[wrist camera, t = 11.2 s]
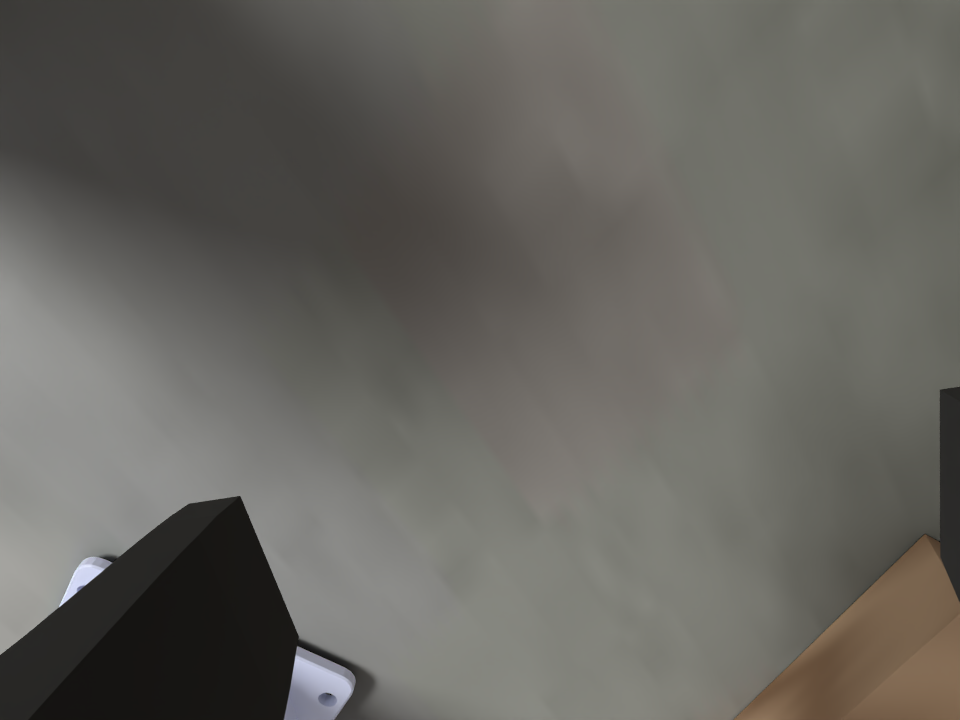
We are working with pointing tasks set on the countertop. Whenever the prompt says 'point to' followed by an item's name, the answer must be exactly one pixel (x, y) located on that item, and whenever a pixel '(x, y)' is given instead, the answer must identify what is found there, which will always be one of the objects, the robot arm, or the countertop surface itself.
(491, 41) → the countertop surface
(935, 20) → the countertop surface
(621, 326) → the countertop surface
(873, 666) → the walnut base
